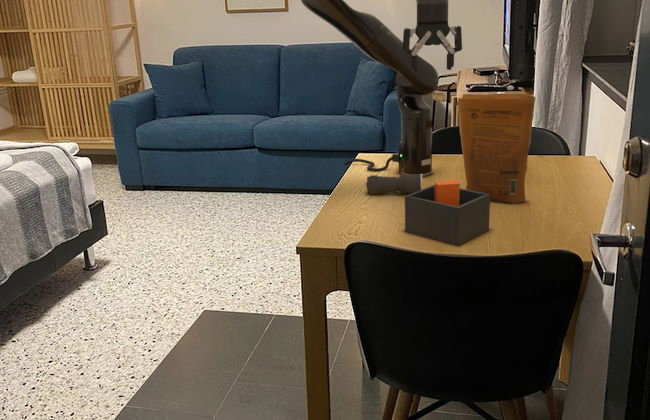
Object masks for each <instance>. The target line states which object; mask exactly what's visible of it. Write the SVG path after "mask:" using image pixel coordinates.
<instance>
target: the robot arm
mask: <svg viewBox="0 0 650 420" xmlns="http://www.w3.org/2000/svg"><path fill="white" fill-rule="evenodd" d="M300 1H301V3H302V5H303V6H304V7H305V8H306V9H307V10H309V11H310V12H311V13H313V14H314V15H315V16H317V17H319V18H320V19H321V20H323V21H324V22H326V23H328V24H329V25H330V26H332V27H333V28H334V29H336V30H337V31H338V32H339V33H340V34H341V35H343V36H344V37H345V38H346V39H347V40H349V41H350V42H351V43H352V44H353V45H354V46H355V47H356V48H357V49H358V50H360V51H361V52H362V53H363V54H364V55H366V56H367V57H368V58H370V59H371V60H373V61H375V62H377V63H379V64H381V65H382V66H385V67H387V68H389V69H392V70H393V71H395V72H396V73H397V75H396V94H397V95H396V96H397V106H398V110H399V112H400V141H399V142H398V147H397V148H398V149H397V150H398V151H397V152H395V153H392V154H391V157H389V158H388V159H387V160H386V162H385V165H384V166H383V167H379V168H378V167H377V168H376V167H374V166H375V162H374V161H371V160H366V159H363V158H362V159H361V158H352V159H348V160H347V161H346V162H344V163H343V166H347V165H349V164H351V163H364V164H368V165H367V167H366V169H367V171H370V172H381V171H385V170H387V169H388V167H389V165H390V162H392V163H393V162H394V163H397V164H398V173H399V174H401V175H406V176H407V175H411V174H422V177H428V176H430V175H432V174H433V109H432V107H431V105H429V104H428V103H427V102H426V100H425V99H424V96H427V95H431V94H432V93H434V92H435V91H436V90H437V89H438V87H439V83H440V77H439V73H438V71H437V68H435V66H433V65H432V64H431V63H430V62H429V61H427V60H426V59H424V58H423V57H421V56H420V55H419V54H418V53H419V52H420V50H421V49H422V48H423V47H424V46H427V47H428V46H433V45H434V46H440V45H442V46H443V48H444V49H445V50H446V52H447V53H446V70H448V71H451V70H452V68H454V65H455V54H456V53H458V52H461V51H462V50H463V38H462V37H463V36H462V27H461V26H460V25H454V26H450V25H449V0H415V2H416V25H415V28H409V27H404V28H403V37H402V40H401V39H400V38H399V36H397V35H396V34H395V33H394V32H393V31H391V29H390V28H389V27H388V26H387V25H385V24H384V22H382V21H381V20H380V19H379V18H378V17H376V16H375V15H373V14H371V13H368V12H364V11H359V10H356V9H354V8H353V7H351V6H350V5H349V4H348V3H347V2H346V1H345V0H300ZM449 33H451V35H452V36H453V38H454V46H452V45H451V43H450V41H449V40H448V38H447V37H448V35H449ZM414 34H415V35H416V37H417V41H415V43H414V45H413V47H412V48H410V45H411V38H413V36H414Z"/></svg>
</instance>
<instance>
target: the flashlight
mask: <svg viewBox="0 0 650 420" xmlns="http://www.w3.org/2000/svg"><path fill="white" fill-rule="evenodd" d="M365 188H366V192H367V194H370V195H378V194H382V193H386V194H387V193H397V192H398V193H400V194H408V195H409V194H412V193H414V192H417V191H420V190H422V189H423V176H422V174H411V175H407V176H406V175H402V174H401V175H399V176H382V175H379V176H378V175H377V174H375V175H369V176H367V177H366V184H365Z"/></svg>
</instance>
